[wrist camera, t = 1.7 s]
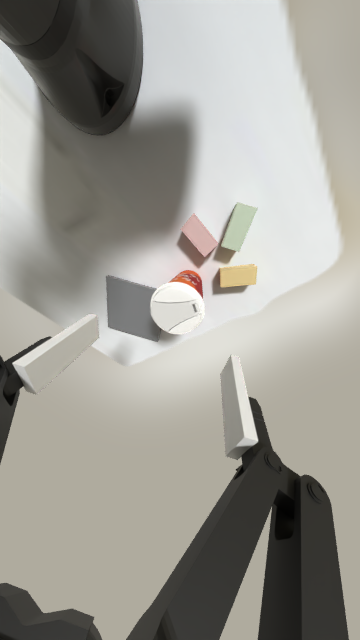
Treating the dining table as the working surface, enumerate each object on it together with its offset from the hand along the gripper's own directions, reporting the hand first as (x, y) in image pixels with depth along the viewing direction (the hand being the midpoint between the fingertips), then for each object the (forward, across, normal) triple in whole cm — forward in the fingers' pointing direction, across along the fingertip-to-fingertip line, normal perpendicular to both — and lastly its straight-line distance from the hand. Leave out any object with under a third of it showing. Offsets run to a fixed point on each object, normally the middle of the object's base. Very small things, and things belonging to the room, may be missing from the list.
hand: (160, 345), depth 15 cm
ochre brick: (+20, +8, +5) cm, 23 cm away
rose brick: (+20, 0, +9) cm, 23 cm away
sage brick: (+20, +6, +12) cm, 24 cm away
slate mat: (+20, -11, -10) cm, 25 cm away
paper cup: (+20, 0, 0) cm, 21 cm away
